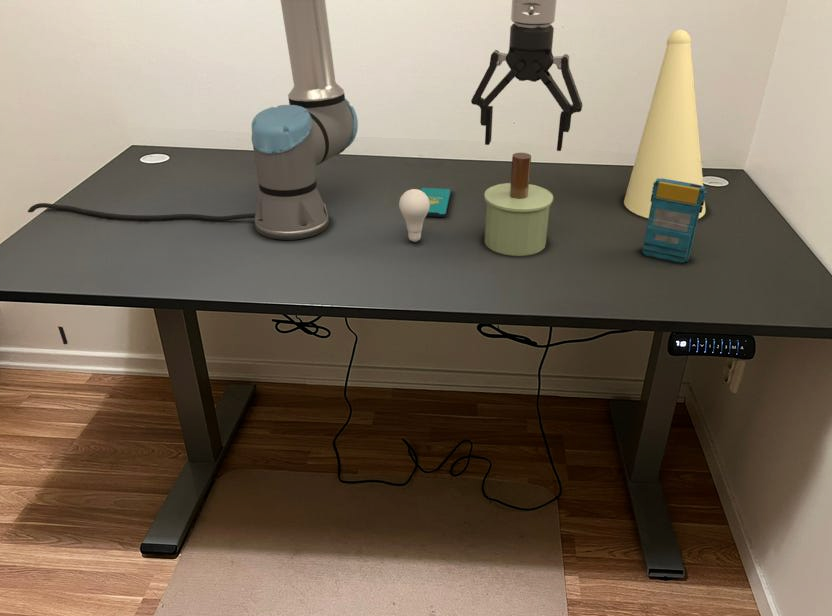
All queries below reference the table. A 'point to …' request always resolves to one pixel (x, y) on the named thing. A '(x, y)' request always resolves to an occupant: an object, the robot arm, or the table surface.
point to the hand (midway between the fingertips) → (523, 145)
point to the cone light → (668, 130)
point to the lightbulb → (414, 211)
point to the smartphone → (437, 201)
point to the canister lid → (519, 189)
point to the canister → (516, 231)
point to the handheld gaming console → (673, 219)
